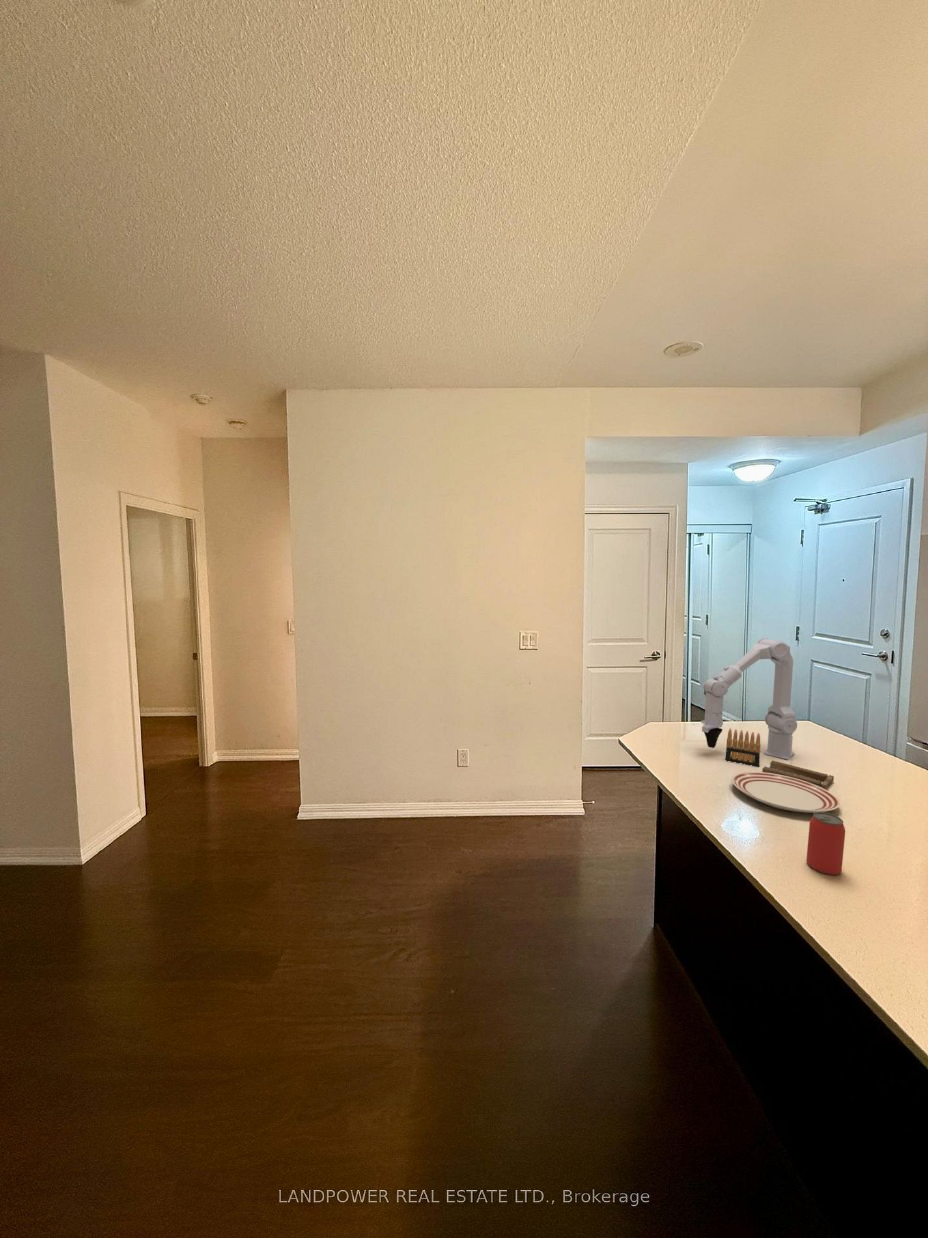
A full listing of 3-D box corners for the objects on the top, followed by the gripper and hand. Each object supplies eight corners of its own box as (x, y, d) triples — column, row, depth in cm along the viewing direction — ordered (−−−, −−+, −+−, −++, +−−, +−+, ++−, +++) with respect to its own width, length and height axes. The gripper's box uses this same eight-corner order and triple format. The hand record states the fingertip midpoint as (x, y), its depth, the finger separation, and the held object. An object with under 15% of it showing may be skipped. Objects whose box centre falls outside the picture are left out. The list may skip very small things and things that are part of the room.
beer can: (799, 859, 115) (803, 811, 114) (825, 859, 116) (829, 810, 115) (821, 877, 109) (826, 825, 108) (849, 876, 109) (854, 824, 108)
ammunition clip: (759, 765, 173) (761, 732, 172) (759, 767, 172) (761, 734, 170) (725, 759, 179) (727, 727, 178) (724, 761, 177) (727, 728, 176)
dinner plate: (745, 772, 167) (746, 763, 167) (846, 800, 148) (847, 789, 147) (718, 797, 148) (718, 786, 148) (829, 832, 128) (830, 820, 128)
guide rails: (772, 765, 173) (772, 760, 173) (833, 782, 160) (833, 776, 160) (762, 774, 166) (762, 768, 165) (825, 791, 153) (825, 785, 152)
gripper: (710, 705, 189) (708, 740, 191) (694, 712, 180) (692, 748, 181) (729, 709, 184) (727, 745, 185) (714, 717, 174) (712, 754, 176)
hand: (711, 747), depth 183 cm, fingers closed
